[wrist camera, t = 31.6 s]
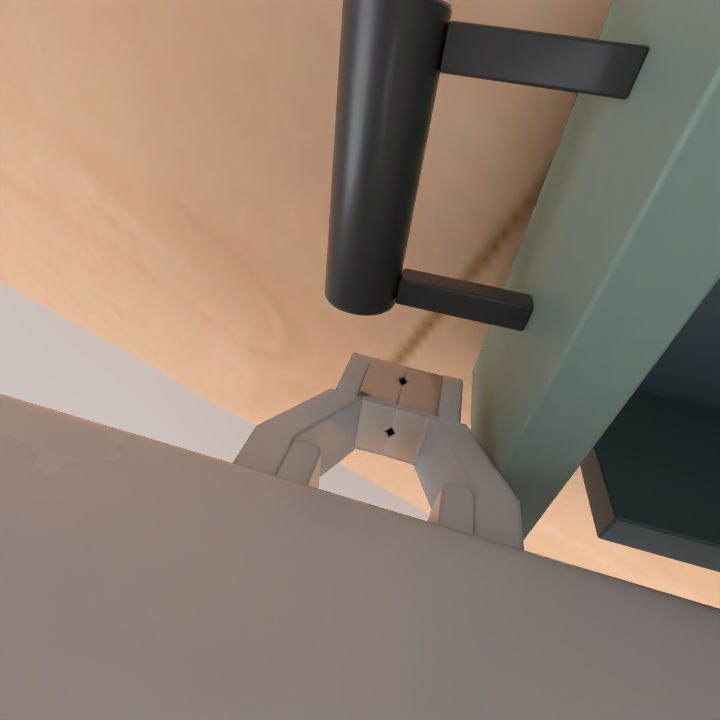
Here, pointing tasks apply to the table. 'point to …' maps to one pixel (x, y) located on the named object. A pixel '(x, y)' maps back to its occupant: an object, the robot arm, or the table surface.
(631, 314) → the drawer
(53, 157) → the table surface
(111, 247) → the table surface
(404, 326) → the table surface
